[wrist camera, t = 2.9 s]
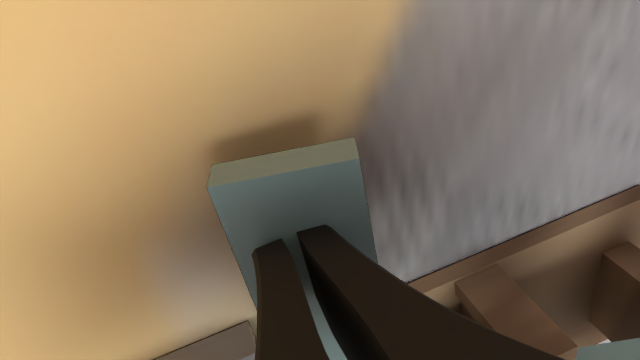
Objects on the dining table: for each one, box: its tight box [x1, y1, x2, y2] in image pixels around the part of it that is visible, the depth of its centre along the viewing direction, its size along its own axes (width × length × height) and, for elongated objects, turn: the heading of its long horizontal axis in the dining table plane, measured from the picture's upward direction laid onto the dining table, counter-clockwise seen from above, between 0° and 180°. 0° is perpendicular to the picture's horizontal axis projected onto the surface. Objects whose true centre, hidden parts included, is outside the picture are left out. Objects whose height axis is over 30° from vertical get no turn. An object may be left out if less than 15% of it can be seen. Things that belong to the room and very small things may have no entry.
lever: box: [207, 137, 640, 360], centre depth 13 cm, size 14×14×2 cm
